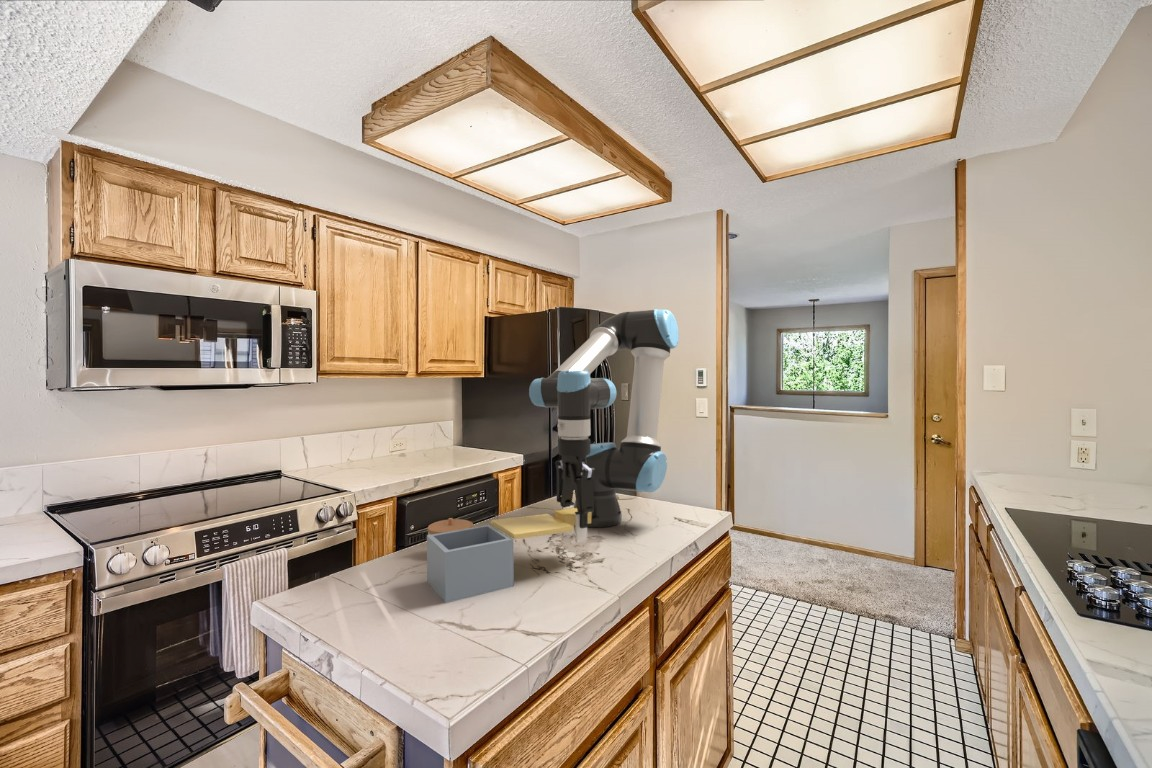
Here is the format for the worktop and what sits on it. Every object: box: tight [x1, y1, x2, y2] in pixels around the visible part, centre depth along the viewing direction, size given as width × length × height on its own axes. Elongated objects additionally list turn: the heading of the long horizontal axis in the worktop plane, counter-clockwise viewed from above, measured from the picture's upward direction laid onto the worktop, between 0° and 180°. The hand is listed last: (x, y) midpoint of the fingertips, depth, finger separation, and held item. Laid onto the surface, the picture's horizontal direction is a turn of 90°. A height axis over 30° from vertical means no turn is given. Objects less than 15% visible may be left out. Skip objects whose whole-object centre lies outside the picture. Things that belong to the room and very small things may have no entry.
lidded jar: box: [427, 517, 474, 535], centre depth 124 cm, size 11×11×9 cm
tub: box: [426, 524, 515, 604], centre depth 104 cm, size 14×12×11 cm
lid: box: [490, 508, 592, 540], centre depth 114 cm, size 21×12×2 cm, turn 122°
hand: (574, 537), depth 118 cm, fingers closed on lid, 5 cm apart
